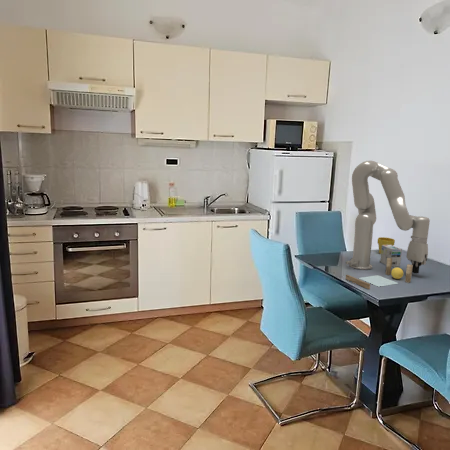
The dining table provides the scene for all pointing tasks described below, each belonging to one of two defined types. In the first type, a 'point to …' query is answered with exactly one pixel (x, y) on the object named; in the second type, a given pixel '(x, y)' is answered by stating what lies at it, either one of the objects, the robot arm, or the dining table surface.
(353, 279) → the stopper wall
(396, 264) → the light bulb box
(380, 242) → the plant pot
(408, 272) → the post right
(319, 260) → the dining table surface
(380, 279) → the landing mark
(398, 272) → the ball
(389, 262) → the post left
